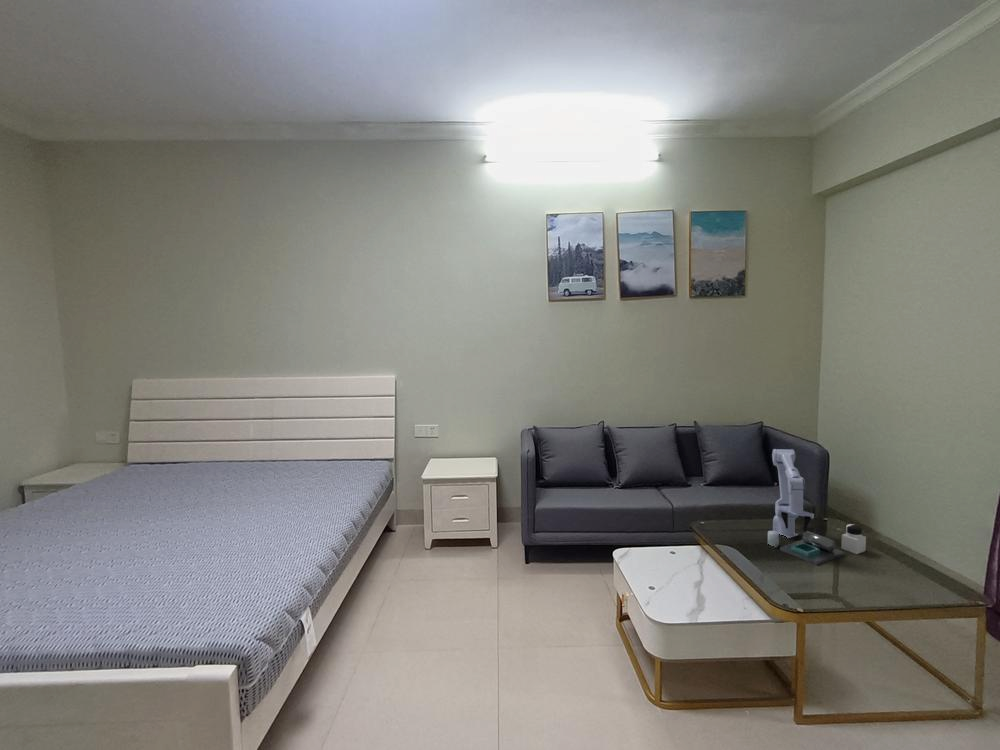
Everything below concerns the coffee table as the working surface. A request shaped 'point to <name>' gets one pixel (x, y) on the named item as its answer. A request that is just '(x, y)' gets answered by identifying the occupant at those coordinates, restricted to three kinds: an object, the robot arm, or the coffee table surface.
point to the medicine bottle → (854, 539)
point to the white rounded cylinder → (773, 538)
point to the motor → (813, 548)
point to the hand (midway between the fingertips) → (795, 529)
